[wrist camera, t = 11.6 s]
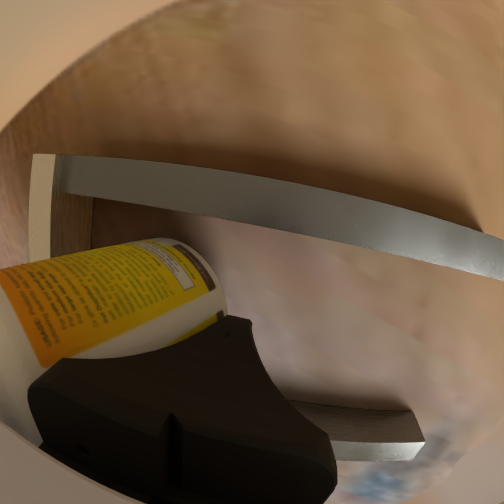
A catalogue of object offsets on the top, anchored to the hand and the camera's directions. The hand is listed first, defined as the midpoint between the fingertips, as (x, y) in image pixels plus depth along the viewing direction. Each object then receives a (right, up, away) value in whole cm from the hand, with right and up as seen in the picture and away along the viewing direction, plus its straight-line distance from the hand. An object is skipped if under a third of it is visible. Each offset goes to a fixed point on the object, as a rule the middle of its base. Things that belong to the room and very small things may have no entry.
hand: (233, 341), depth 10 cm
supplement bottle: (-2, +1, +2) cm, 3 cm away
